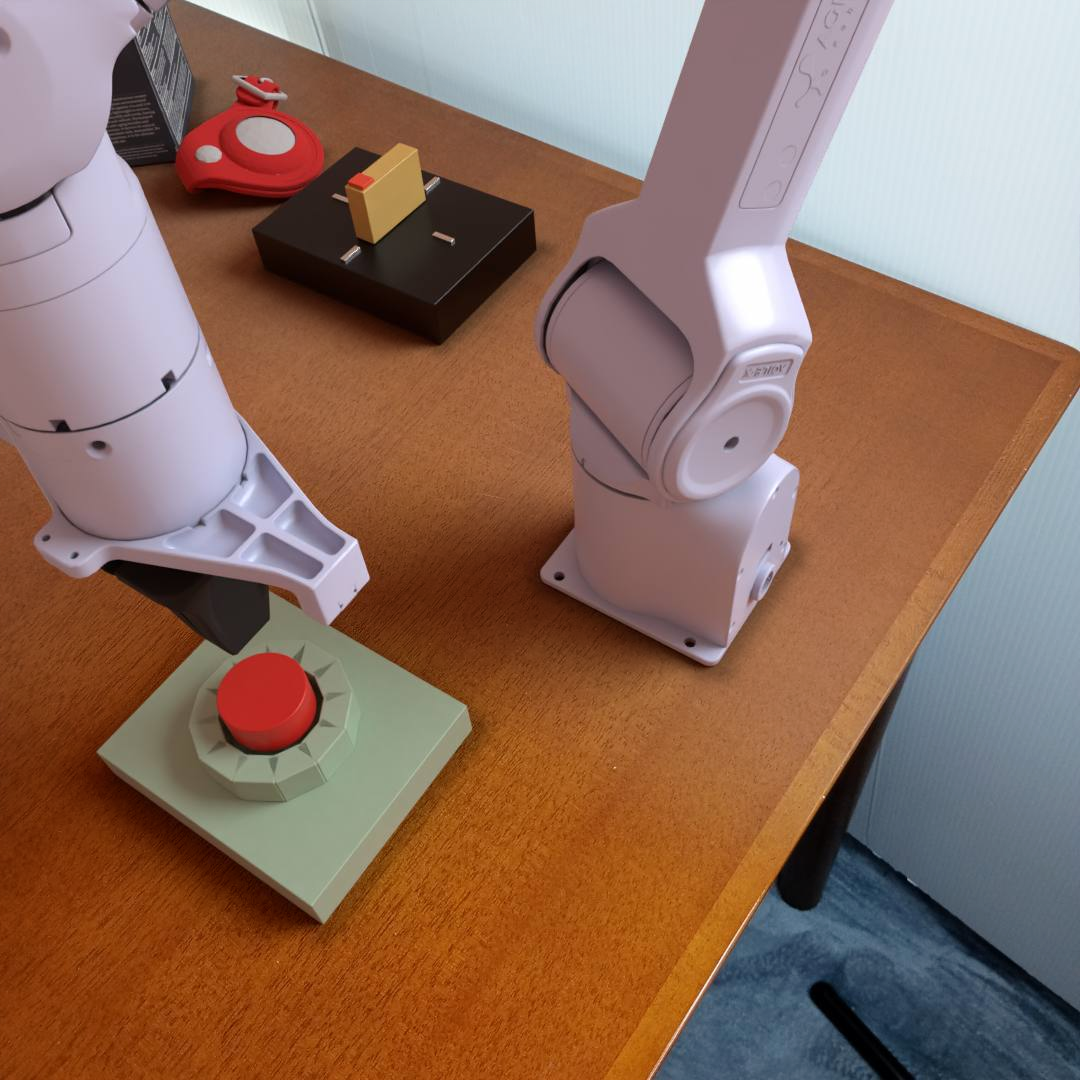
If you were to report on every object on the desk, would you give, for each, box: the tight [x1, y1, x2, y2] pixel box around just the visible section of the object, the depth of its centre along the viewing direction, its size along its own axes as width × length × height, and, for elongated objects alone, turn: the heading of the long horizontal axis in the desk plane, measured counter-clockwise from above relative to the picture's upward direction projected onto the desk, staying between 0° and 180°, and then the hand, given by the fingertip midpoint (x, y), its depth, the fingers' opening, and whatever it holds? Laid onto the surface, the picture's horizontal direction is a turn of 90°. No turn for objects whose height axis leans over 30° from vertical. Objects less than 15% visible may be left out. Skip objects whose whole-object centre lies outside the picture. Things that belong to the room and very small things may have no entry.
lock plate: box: [251, 146, 538, 345], centre depth 65 cm, size 14×10×3 cm
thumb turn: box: [345, 142, 426, 244], centre depth 63 cm, size 5×1×4 cm, turn 146°
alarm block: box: [96, 590, 473, 925], centre depth 45 cm, size 12×10×4 cm
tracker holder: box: [174, 74, 325, 199], centre depth 73 cm, size 12×4×10 cm
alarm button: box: [216, 652, 316, 751], centre depth 43 cm, size 4×4×2 cm
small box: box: [106, 3, 196, 167], centre depth 74 cm, size 11×6×10 cm, turn 6°
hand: (240, 628), depth 39 cm, fingers closed
